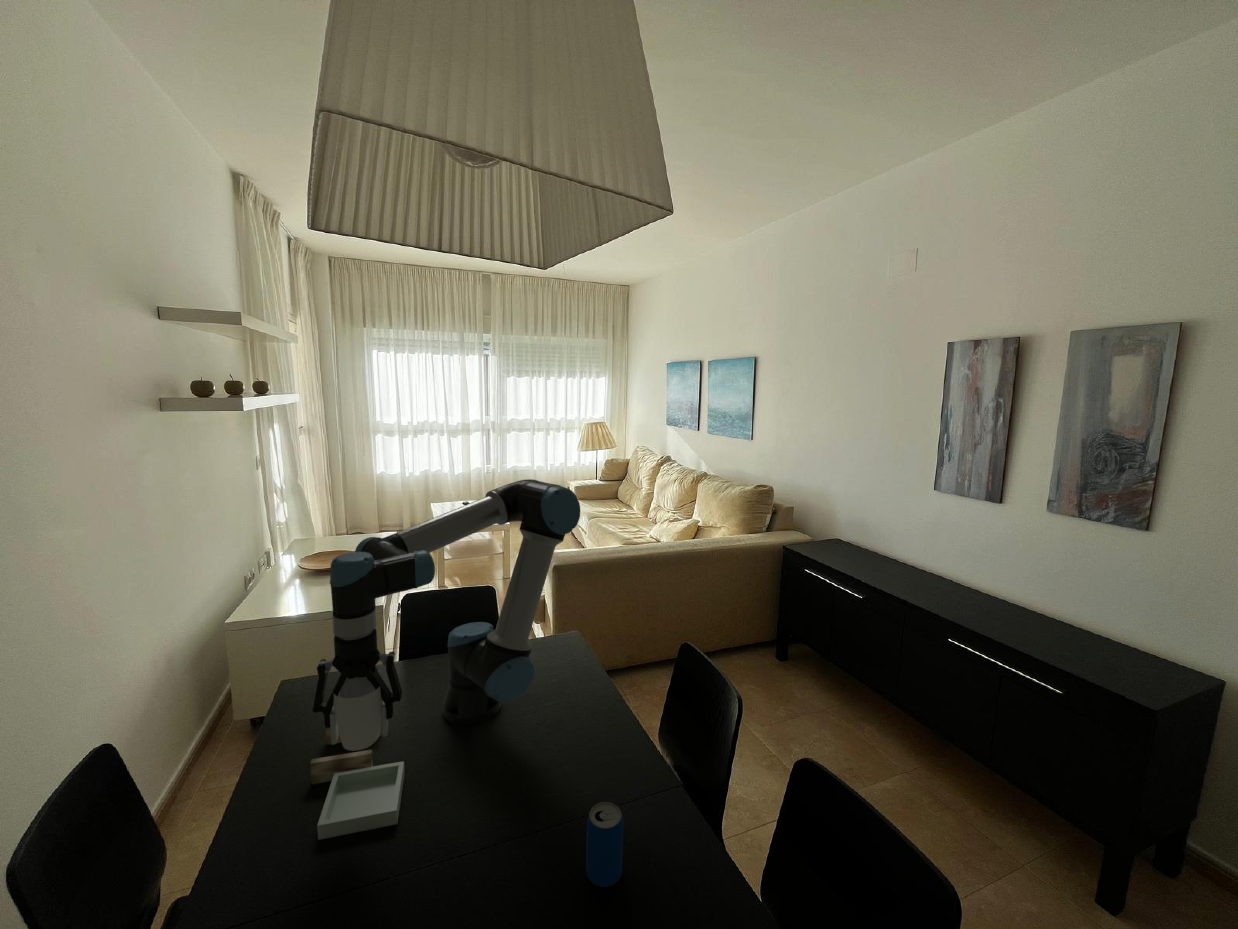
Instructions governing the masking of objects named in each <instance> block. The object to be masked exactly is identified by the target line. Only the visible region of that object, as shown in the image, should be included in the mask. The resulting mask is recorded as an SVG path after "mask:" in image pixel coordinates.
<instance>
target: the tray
mask: <svg viewBox="0 0 1238 929" xmlns="http://www.w3.org/2000/svg"><path fill="white" fill-rule="evenodd" d="M405 775H406V774H405V761H398V762H391V763H386V764H385V763H384V764H380V765H373V767H367V768H361V769H356V770H350V771H344V772H338V773H334V776H333V779H332V781H330V782H331V783H330V785H329V789H328V791H327V795H326V797H325V802H324V804H323V807H322V809H321V813H320V816H319V819H318V822H317V825H316V828H317V830H316V831H317V840H318V841H320V840H324V839H330V838H335V837H340V836H346V835H348V834H355V833H360V832H363V831H369V830H374V829H375V830H376V829H379V828H380V829H381V828H384V827H389V826H394V825H398V821H399V820H398V819H399V814H400V809H401V800H402V794H403V787H404V780H405Z"/></svg>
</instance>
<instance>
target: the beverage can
mask: <svg viewBox="0 0 1238 929" xmlns="http://www.w3.org/2000/svg"><path fill="white" fill-rule="evenodd" d="M623 844H624V816H623V815H622V812H621V809H620V808H619V806H617V805H616V804H615V803H612V802H608V801H602V802H599V803H597V804H595V805H593V806H592V807H591V809H590V811H589V814H588V816H587V819H586V856H585V857H586V858H585V859H586V861H585V862H586V863H585V864H586V865H585V866H586V867H585V868H586V869H585V870H586V871H585V872H586V876H587V878H588V879H589V881H590V882H591V883H592V884H594V885H595V886H598V887H605V888H606V887H610V886H613V885H615V883H617V882H618V881H619V880H620V878H621V877H622V872H623V854H624V853H623V852H624V851H623V850H624V847H623Z"/></svg>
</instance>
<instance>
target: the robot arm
mask: <svg viewBox="0 0 1238 929" xmlns="http://www.w3.org/2000/svg"><path fill="white" fill-rule="evenodd" d="M580 517H581V504H580V501H579V500H578V497H577V495H576V494H575V492H574V491H573V490H571V489H570V488H568V487H565V486H562V485H561V484H555V483H551V482H550V483H549V482H544V481H540V480H537V479H522V480H521V479H520V480H517V481H514V482H510V483H508V484H505V485H502V486H499V487H496V488H494V489H492V490H490V491H487V492H486V493H485V496H484V497H481V498H480V499H477V500H475V501H472V502H470V503H467V504H465V505H462V506H460V507H458V508H454V509H452V510H450V511H447V512H444V513H443V514H439V515H437V516H435V517H432V518H429V519H428V520H425V521H423V522H420V523H418V524H414V525H412V526H410V527H408V528H405V529H403V530H400V531H397V532H395V533H392V534H390V535H387V536H385V537H377V536H369V537H367V538H364V539H362V540H361V541H360V542H359V543H358V544H357V546H356V547H355V550H354V551H352V552H351V551H350V552H346V553H342V554H340V555H337V556H336V557H334V558H333V559H332V561H331V562H330V575H329V576H330V578H329V584H330V590H331V591H330V592H331V606H332V607H331V608H332V630H333V631H332V632H333V635H334V636H333V644H334V645H333V647H334V656H333V659H329V660H327V659H325V658H322V659H321V660H320V661H319V663H318V665H317V667H316V671H317V676H318V679H317V684H316V689H315V690H316V691H315V695H314V701H313V706H312V712H313V713H314V714H317V713H322V714H323V717H324V718H323V719H324V721H323V722H324V728H325V727H326V728H330V727H331V743H332V744H331V745H332V746H334V745H336V744H337V743H336V742H337V739H338V737H339V729H338V724H337V720H336V716H335V712H334V707H333V702H334V694H335V695H336V696H338V694H339V692H340V690H341V688H342V686H343V684H344V682H345V680H346V678H348V679H352V678H355V677H365V676H366V678H367V679H368V681H370V682H371V683H372V685H373V686H374V688H375V690H376V689H378V688H379V687H380V692H381V699H382V700H383V704H382V707H381V712H382V713H381V736H382V738H385V737H387V736H388V733H389V732H388V731H389V720H391V719H392V718H393V715H394V703H395V702H400V701H401V700H402V695H403V690H402V686H401V683H400V680H399V676H398V672H397V669H396V664H395V655H396V653H395V652H394V651H389V652H388V653H381V652H380V651H379V650H378V635H377V634H378V633H377V632H378V631H377V629H376V627H377V615H376V614H377V613H376V606H377V605H376V599H378V598H379V599H380V598H383V597H386V596H390V595H394V594H397V593H403V592H405V591H409V590H413V589H418V588H421V587H423V586H426V585H429V584H431V583H432V582H433V580H434V579H435V575H436V565H435V561H434V558H433V557H432V554H430V553H433V552H435V551H437V550H439V549H442V548H444V547H447V546H449V545H451V544H453V543H455V542H457V541H460V540H462V539H464V538H467V537H469V536H471V535H473V534H476V533H478V532H480V531H482V530H485V529H487V528H489V527H492V526H494V525H499V526H503V525H506V524H507V523H511V522H521V523H520V526H519V532H520V533H521V536H522V539H521V543H520V547H519V550H518V554H517V557H516V560H515V564H514V567H513V570H512V573H511V576H510V580H509V582H508V586H507V589H506V592H505V597H504V600H503V602H502V607H501V610H500V612H499V616H498V618H497V624H496V627H495V629H494V626H493V625H492V624H491V623H489V622H486V621H476V622H475V621H474V622H468V623H465V624H461V625H459V626H456V627H454V629H452V630H451V631H450V632H449V634H448V638H447V639H448V640H447V657H448V658H447V659H448V661H447V662H448V680H449V681H448V686H447V689H446V693H445V696H444V698H443V702H442V714H443V717H444V719H445V720H447V721H448V722H449V723H452V724H454V725H459V726H471V725H478V724H482V723H484V722H486V721H489V719H492V718H493V717H495V716H496V714H498V712H499V711H500V710H501V707H502V703H510V702H512V701H514V700H516V699H519V697H521V695H523V694H525V692H526V691H527V690H528V689H529V687H530V686H531V683H532V682H533V679H534V676H535V666H534V663H533V661H532V660H531V659H530V656H531V652H532V648H533V645H532V643H531V641H530V634H531V631H532V628H533V625H534V624H533V623H534V621H535V618H536V614H537V611H538V607H539V603H540V600H541V597H542V593H543V590H544V587H545V584H546V580H547V576H548V572H549V570H550V568H551V567H550V566H551V563H552V559H553V555H554V553H555V549H556V546H558V545H560V544H561V543H563V542H564V540H565V537H566V535H567V534H570V533H571V532H572V531H573V530H574V529H575V528H576V527H577V525H578V523H579V521H580ZM379 662H381V663H382V665H383V667H385V672H386V675H387V678H388V682H389V685H390V687H391V690H390V689H389V687H388V685H387V683H386V682H385V681H384V679H383V677H382V676H381V674H380V673H379V672H378V668H377V664H378V663H379ZM332 667H333V668H335V670H337V672H339V674H340V675H339V677H338V679H337V682H336V683H335V685H334V687H333V689H332V691H331V693H330V696H329V697H328V700H327V702H326V701H324V698H325V692H326V686H327V681H328V675H329V673H330V671H331V670H332Z"/></svg>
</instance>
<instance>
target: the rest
mask: <svg viewBox="0 0 1238 929" xmlns="http://www.w3.org/2000/svg"><path fill="white" fill-rule="evenodd" d="M324 728H325V729H324V730H325V742H326V745H332V743H331V727H330V728H326V727H325V726H324ZM338 729H339V728H338ZM379 737H382V720H381V721H380V730H379ZM340 743H342V741H341V737H340V733H339V737H338V739H337V742H336V744H340ZM310 760H311V761H310V763H309V768H310V780H311V782H310V783H311V785H316V784H321V783H326V782H332V779H333V776H334V773H338V772H344V771H350V770H356V769H361V768H367V767H373V766H374V764H373V762H374V761H373V749H367V750H365V749H364V750H358V751H356V752H355V751H353V752H348V753H343V754H342V753H341V754H337V755H329V756H325V757H316V758H311V759H310Z"/></svg>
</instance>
